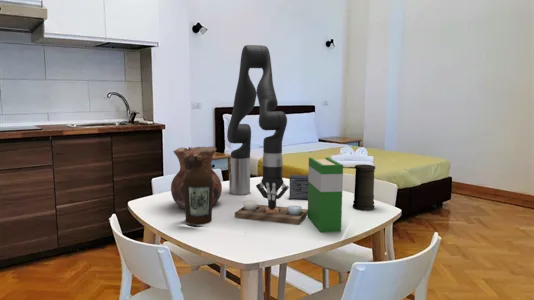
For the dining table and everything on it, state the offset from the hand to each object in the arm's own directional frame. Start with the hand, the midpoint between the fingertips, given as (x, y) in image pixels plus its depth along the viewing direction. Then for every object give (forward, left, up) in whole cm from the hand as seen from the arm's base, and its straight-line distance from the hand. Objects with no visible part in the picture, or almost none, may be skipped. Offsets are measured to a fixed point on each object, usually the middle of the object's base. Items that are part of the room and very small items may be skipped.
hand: (272, 209), depth 160 cm
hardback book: (+20, -3, -4) cm, 21 cm away
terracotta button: (0, 0, -2) cm, 2 cm away
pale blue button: (+9, 0, -1) cm, 9 cm away
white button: (-9, 0, -1) cm, 9 cm away
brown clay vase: (-36, +6, -4) cm, 36 cm away
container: (+31, +28, -4) cm, 42 cm away
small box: (+2, +35, -4) cm, 35 cm away
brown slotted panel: (0, 0, -4) cm, 4 cm away
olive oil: (-24, -15, -4) cm, 28 cm away
